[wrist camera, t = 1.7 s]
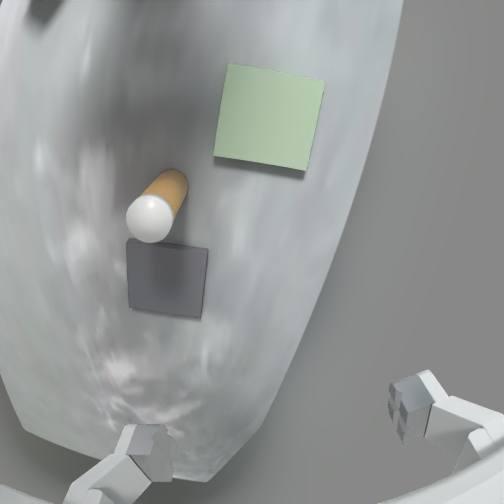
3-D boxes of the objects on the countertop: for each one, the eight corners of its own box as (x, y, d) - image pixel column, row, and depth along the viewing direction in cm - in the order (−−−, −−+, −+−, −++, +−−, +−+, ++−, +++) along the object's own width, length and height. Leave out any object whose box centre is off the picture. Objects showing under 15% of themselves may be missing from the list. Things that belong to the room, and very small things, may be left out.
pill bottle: (153, 200, 45) (125, 239, 33) (156, 167, 43) (125, 195, 31) (187, 204, 46) (169, 245, 34) (191, 170, 43) (172, 201, 31)
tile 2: (213, 153, 42) (212, 155, 41) (228, 64, 36) (228, 63, 35) (304, 168, 44) (306, 170, 42) (322, 82, 38) (325, 81, 36)
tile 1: (131, 302, 54) (129, 307, 52) (129, 238, 48) (126, 242, 46) (201, 312, 55) (200, 318, 54) (208, 249, 49) (207, 253, 48)
